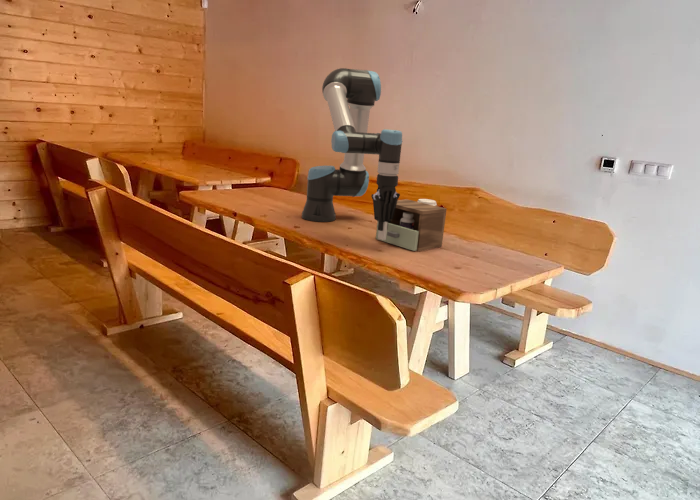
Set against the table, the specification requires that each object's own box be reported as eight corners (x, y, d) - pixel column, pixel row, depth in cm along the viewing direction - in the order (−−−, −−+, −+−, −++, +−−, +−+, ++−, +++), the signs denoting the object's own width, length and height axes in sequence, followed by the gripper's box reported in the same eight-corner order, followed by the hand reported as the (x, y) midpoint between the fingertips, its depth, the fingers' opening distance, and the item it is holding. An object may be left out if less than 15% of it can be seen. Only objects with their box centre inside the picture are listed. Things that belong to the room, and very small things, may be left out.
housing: (379, 239, 205) (382, 201, 201) (402, 235, 215) (406, 199, 211) (418, 251, 191) (422, 211, 187) (441, 246, 201) (446, 208, 197)
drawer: (371, 239, 202) (373, 221, 200) (399, 235, 213) (401, 217, 211) (409, 251, 188) (411, 232, 186) (437, 246, 199) (439, 228, 197)
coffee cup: (417, 238, 211) (421, 202, 207) (410, 233, 219) (413, 198, 215) (436, 238, 213) (441, 202, 209) (428, 233, 221) (432, 198, 217)
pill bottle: (413, 240, 198) (416, 215, 195) (399, 239, 198) (402, 214, 195) (411, 236, 203) (414, 212, 201) (397, 235, 203) (400, 211, 200)
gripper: (383, 176, 178) (377, 243, 184) (407, 175, 187) (401, 239, 193) (367, 173, 183) (362, 238, 189) (392, 172, 192) (386, 234, 198)
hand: (381, 238), depth 191 cm, fingers closed
